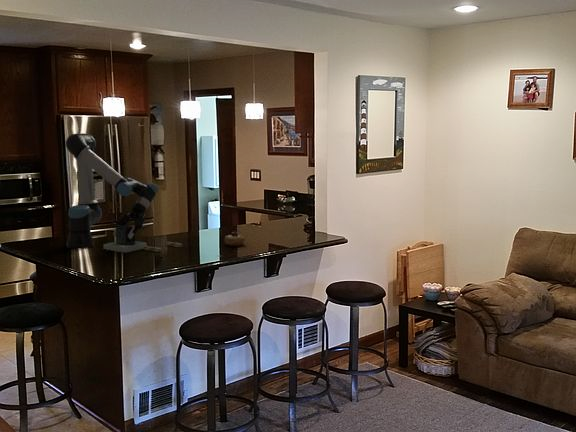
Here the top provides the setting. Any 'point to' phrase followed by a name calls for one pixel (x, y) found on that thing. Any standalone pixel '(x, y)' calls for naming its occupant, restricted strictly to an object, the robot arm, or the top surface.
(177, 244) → the oak cradle
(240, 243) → the pumpkin
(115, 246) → the tray
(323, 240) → the top surface
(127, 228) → the small box
